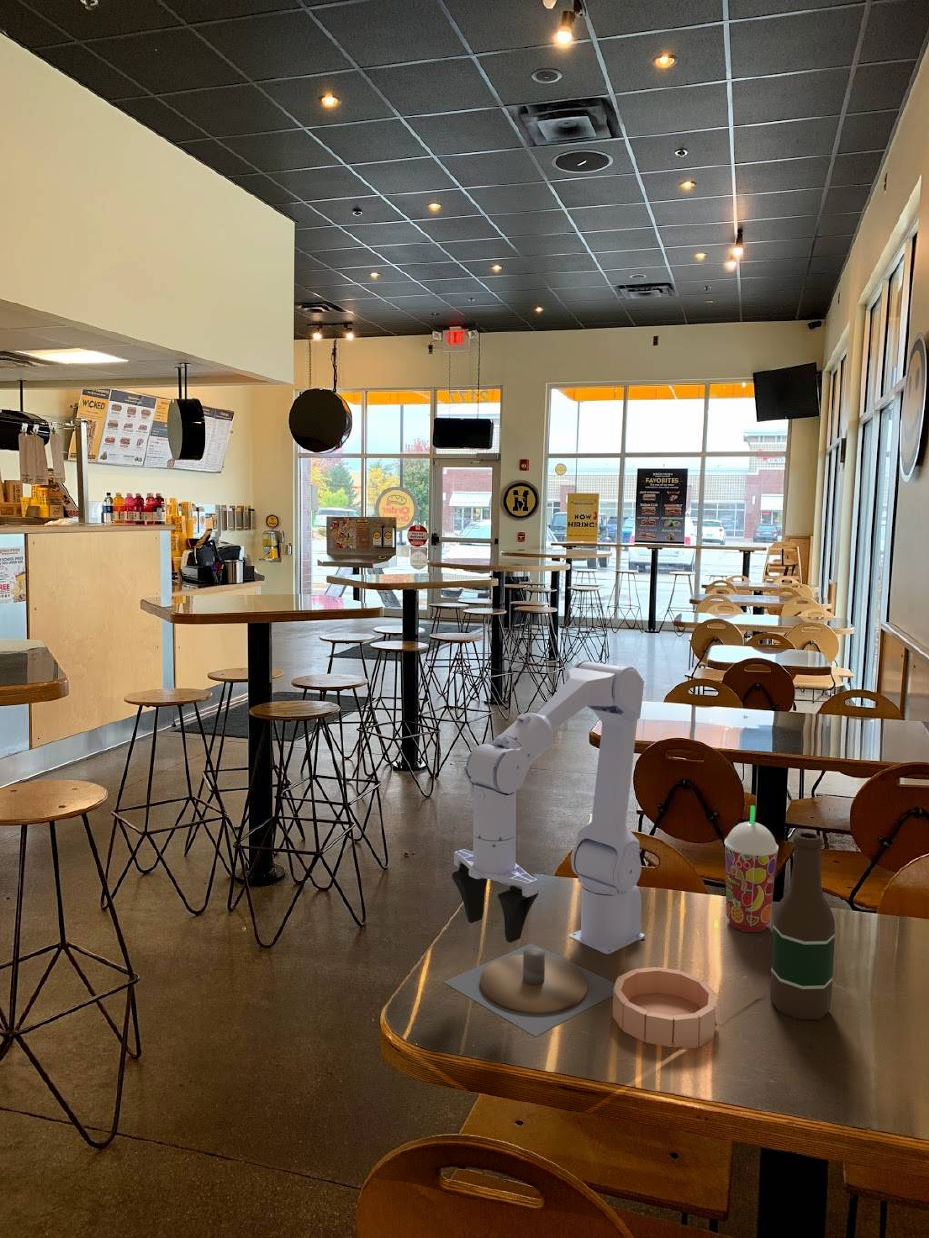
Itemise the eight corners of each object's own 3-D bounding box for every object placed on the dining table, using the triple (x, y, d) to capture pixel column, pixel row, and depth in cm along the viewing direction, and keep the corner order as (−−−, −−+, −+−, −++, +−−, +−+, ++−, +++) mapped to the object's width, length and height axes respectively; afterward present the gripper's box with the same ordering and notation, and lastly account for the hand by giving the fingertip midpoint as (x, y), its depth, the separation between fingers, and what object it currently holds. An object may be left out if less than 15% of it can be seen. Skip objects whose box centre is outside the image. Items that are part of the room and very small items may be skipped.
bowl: (653, 985, 127) (654, 958, 127) (734, 1023, 117) (735, 994, 117) (593, 1018, 118) (594, 989, 118) (676, 1062, 109) (677, 1031, 108)
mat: (531, 946, 138) (531, 942, 138) (624, 991, 125) (624, 988, 125) (443, 985, 126) (443, 981, 126) (535, 1040, 113) (535, 1036, 113)
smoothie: (715, 913, 151) (720, 797, 148) (765, 914, 150) (771, 798, 148) (728, 936, 142) (733, 814, 140) (781, 937, 142) (787, 815, 140)
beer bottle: (829, 997, 124) (838, 829, 122) (832, 1026, 117) (842, 848, 114) (769, 987, 127) (777, 822, 124) (769, 1015, 119) (777, 841, 117)
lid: (532, 949, 136) (532, 919, 136) (609, 988, 125) (610, 955, 125) (458, 982, 126) (458, 949, 126) (535, 1027, 115) (535, 991, 115)
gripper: (437, 826, 124) (437, 920, 125) (510, 856, 113) (510, 958, 114) (475, 815, 128) (474, 906, 130) (549, 842, 117) (548, 941, 119)
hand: (493, 929), depth 122 cm, fingers open, 7 cm apart
